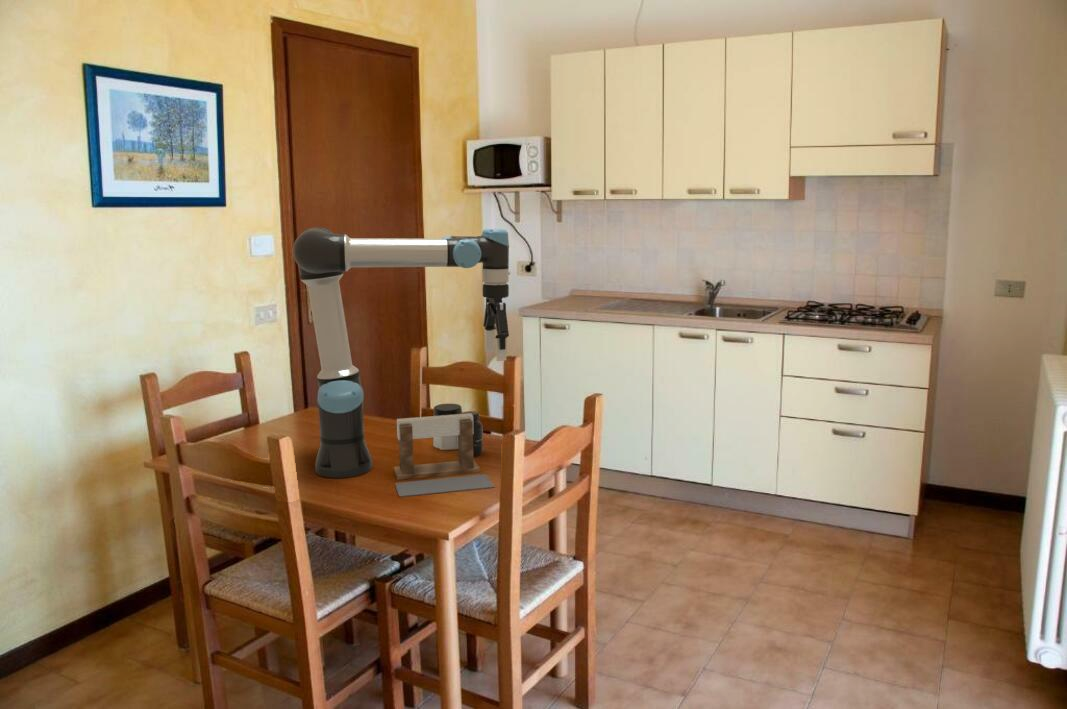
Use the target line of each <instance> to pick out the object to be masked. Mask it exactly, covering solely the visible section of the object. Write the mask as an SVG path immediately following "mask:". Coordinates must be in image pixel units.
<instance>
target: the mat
mask: <svg viewBox="0 0 1067 709" xmlns="http://www.w3.org/2000/svg"><path fill="white" fill-rule="evenodd" d="M394 485H395V488H396V492H397V494H398V497H399V498H405V497H406V498H407V497H416V496H424V495H437V494H445V493H455V492H465V491H474V490H477V491H478V490H486V489H494V488H495V486H494V484H493V483H492V481H491V480H490V478H489V477H488V475H487V474H486V473H484V474H474V475H465V476H456V477H444V478H442V477H441V478H434V479H433V478H432V479H424V480H423V479H422V480H412V481H400V482H394Z"/></svg>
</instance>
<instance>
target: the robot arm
mask: <svg viewBox="0 0 1067 709" xmlns="http://www.w3.org/2000/svg"><path fill="white" fill-rule="evenodd" d="M509 248H510V243H509V231H507V230H506V229H503V228H484V229H483V230H482V232H481V235H477V236H468V235H467V236H466V235H465V236H464V235H461V236H459V235H455V236H454V235H450V236H442V237H441V238H400V237H398V238H396V237H395V238H390V237H389V238H388V237H387V238H382V237H381V238H379V237H378V238H377V237H376V238H373V237H372V238H371V237H370V238H369V237H368V238H365V237H361V238H360V237H359V238H358V237H357V238H356V237H355V238H354V237H349V236H348V235H347V234H343V233H341V234H339V233H333V232H332V231H330V230H329V229H326V228H324V227H312V228H308V229H306V230H304V231H303V232H302V233H301V234H299V235H298V237H297V238H296V239H295V241H294V243H293V247H292V255H293V258H294V262H295V263H296V264H297V266H298V272H299V278H300V279H299V280H300V281H301V282H302V283H303V284H305V285H306V286H307V290H308V291H307V292H308V298H309V304H310V307H311V308H310V309H311V315H312V316H311V317H312V320H313V322H312V323H313V328H314V332H315V338H316V344H317V350H318V356H319V361H320V367H321V368H320V369H321V370H320V371H319V373H318V374H317V376H316V377H317V384H318V391H317V398H316V399H317V400H316V402H317V405H318V406H317V407H318V421H319V422H318V424H319V436H320V437H319V438H320V444H319V448H318V452H317V455H316V459H315V462H314V467H315V473H316V474H317V475H319V476H321V477H324V478H334V479H335V478H336V479H341V478H342V479H343V478H350V477H357V476H361V475H363V474H366V473H368V472H370V471H371V470H372V469H373V459H372V456H371V453H370V451H369V449H368V446H367V445H368V444H366V439H365V426H364V420H365V419H364V399H365V398H364V397H365V395H364V388H363V387H362V382H361V374H360V371H359V370H360V369H359V368H357V367H356V366H354V365H353V359H352V356H351V355H352V354H351V348H350V342H349V336H348V330H347V323H346V316H345V311H344V310H345V309H344V304H343V299H342V292H341V286H340V280H341V279H342V277H343V276H344V272H348V271H349V270H350V269H352V268H418V267H419V268H429V267H430V268H440V267H442V268H444V267H447V268H464V269H470V268H474V267H475V266H477V265H478V264H480V263H481V264H482V270H481V271H482V272H481V275H482V281H481V282H482V283H483V284H482V297H484V298H485V309H484V318H483V327H484V329H485V330H484V331H485V335H484V336H485V338H484V339H485V353H496V361H497V362H500V361H501V362H504V361H507V350H508V348H507V340H508V339H507V338H508V337H509V336H510V332H509V325H508V324H509V323H508V317H507V303H506V302H503V299H505V298H508V297H509V294H510V293H509V292H510V289H509V288H510V285H509V284H508V283H509V276H510V275H511V271H509V265H510V264H509V259H510V258H509V256H510V255H509V254H510V250H509ZM495 330H496V331H495Z"/></svg>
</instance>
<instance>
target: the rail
mask: <svg viewBox="0 0 1067 709" xmlns="http://www.w3.org/2000/svg"><path fill="white" fill-rule="evenodd" d="M467 420H472V421H473V415H472V414H471V413H467V414H454V415H442V416H434V415H433V416H429V415H428V416H420V417H419V416H418V417H417V416H416V417H405V418H396V432H397V433H396V434H397V436H396V437H397V439H398V441H399V440H401V432H400V426H404V425H412V430H413V440H417V439H430V438H432V439H433V437H444V436H456V435H461V421H467ZM473 434H474V431H473Z"/></svg>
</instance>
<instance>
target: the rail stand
mask: <svg viewBox="0 0 1067 709" xmlns="http://www.w3.org/2000/svg"><path fill="white" fill-rule="evenodd" d="M400 432H401V440H398V450H399V451H398V453H399V455H398V456H399V466H394V467H393V470H394V474H395V476H396V480H398V481H401V480H412V479H422V478H423V479H424V478H430V477H431V478H433V477H444V476H451V475H452V476H453V475H454V476H455V475H463V474H464V475H466V474H472V473H480V472H481V468H480V466H479V465H478V463H477V462H476V461H475V459H474V456H473V421H472V420H467V421H461V435H458V449H457V451H458V452H457V453H458V454H457V460H456V461H446V462H445V461H444V462H434V463H422V464H414V463H415V462H414V460H415V459H414V458H415V457H414V439H413V430H412V425H404V426H400Z"/></svg>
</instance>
